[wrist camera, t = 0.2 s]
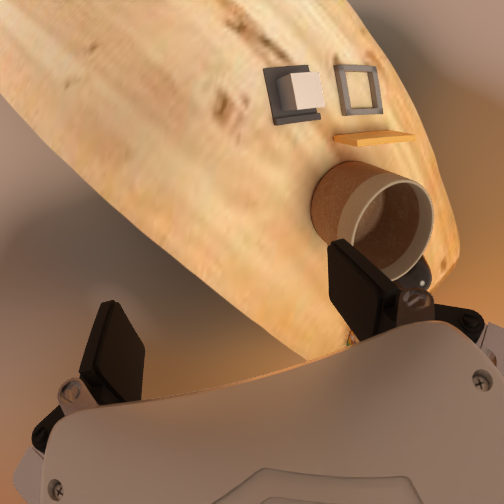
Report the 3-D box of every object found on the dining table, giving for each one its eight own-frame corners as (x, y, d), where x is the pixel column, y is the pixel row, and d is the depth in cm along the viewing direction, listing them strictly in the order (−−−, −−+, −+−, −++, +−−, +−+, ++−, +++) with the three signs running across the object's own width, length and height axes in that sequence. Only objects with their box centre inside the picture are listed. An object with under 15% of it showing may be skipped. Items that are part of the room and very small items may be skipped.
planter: (372, 147, 41) (428, 163, 29) (389, 221, 49) (435, 253, 37) (295, 183, 42) (337, 210, 30) (324, 258, 50) (361, 302, 38)
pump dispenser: (349, 258, 51) (394, 304, 38) (379, 215, 48) (432, 250, 35) (377, 276, 55) (419, 318, 42) (404, 237, 52) (452, 272, 39)
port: (321, 66, 33) (344, 59, 27) (380, 68, 35) (406, 64, 28) (334, 141, 40) (357, 146, 34) (389, 135, 41) (415, 140, 35)
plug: (276, 79, 33) (290, 73, 28) (301, 77, 34) (319, 71, 28) (282, 111, 36) (297, 109, 30) (307, 107, 36) (325, 106, 31)
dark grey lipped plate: (263, 69, 32) (265, 67, 31) (307, 65, 33) (311, 63, 32) (274, 125, 37) (277, 125, 36) (316, 119, 38) (321, 119, 36)
